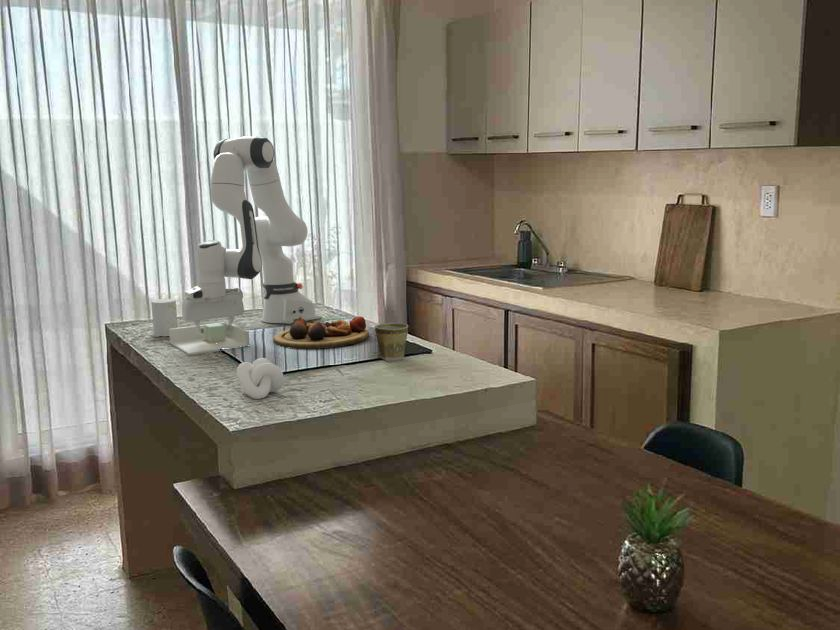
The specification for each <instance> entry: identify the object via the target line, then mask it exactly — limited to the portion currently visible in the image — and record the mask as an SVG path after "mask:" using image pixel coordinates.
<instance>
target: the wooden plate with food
mask: <svg viewBox="0 0 840 630" xmlns="http://www.w3.org/2000/svg"><path fill="white" fill-rule="evenodd" d="M301 317H302V316H301ZM301 317H299V318H297V319H295V320H294V319H293V320H294V322H292V323H290V329H286V330H283V331H280V332H277V333H276V334H275V335H273V338H272V341H273V343H274V344H275V343H276V344H275V345H277V346H279V345H280V346H279V347H282V346H284V347H283V348H287V347H290V348H289V349H296V348H298V349H297V350H312V349H313V350H315V349H316V350H318V349H332V348H339V347H346V346H351V345H355V344H359V343H360V342H361V343H362V342H363V341H365V340H367V339H368V338H369V336H370V333H369V330H368V329H367V328H366V327H367V323H366V319H365V317H364V316H360V315H357V316H355V317H353V318H352V320H350V321H349V323H348V322H347V321H346V320H343V319H337V320H333V321H330V322H328V321H326V322H321V321H319V320H318V321H317V320H309V321H310V323H309V322H308V324H307V323H306V322H307V321H305V320H304V319H303V318H301Z"/></svg>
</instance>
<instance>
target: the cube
mask: <svg viewBox="0 0 840 630" xmlns="http://www.w3.org/2000/svg"><path fill="white" fill-rule="evenodd" d="M217 323H218V324H213V323H209V324H210V325H205V324H204V325H205V335H206V340H207V341H209V342H217V341H224V340H225V326H224V325H222V324H220V323H221V322H217Z"/></svg>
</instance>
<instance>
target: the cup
mask: <svg viewBox="0 0 840 630" xmlns="http://www.w3.org/2000/svg"><path fill="white" fill-rule="evenodd" d="M150 303H151V313H152V328H153V336H154V337H156V336H169V337H170V329H172V328H179V327H178V325H179V324H178V314H177V299H175V298H159V299H154V300H151V302H150Z"/></svg>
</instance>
